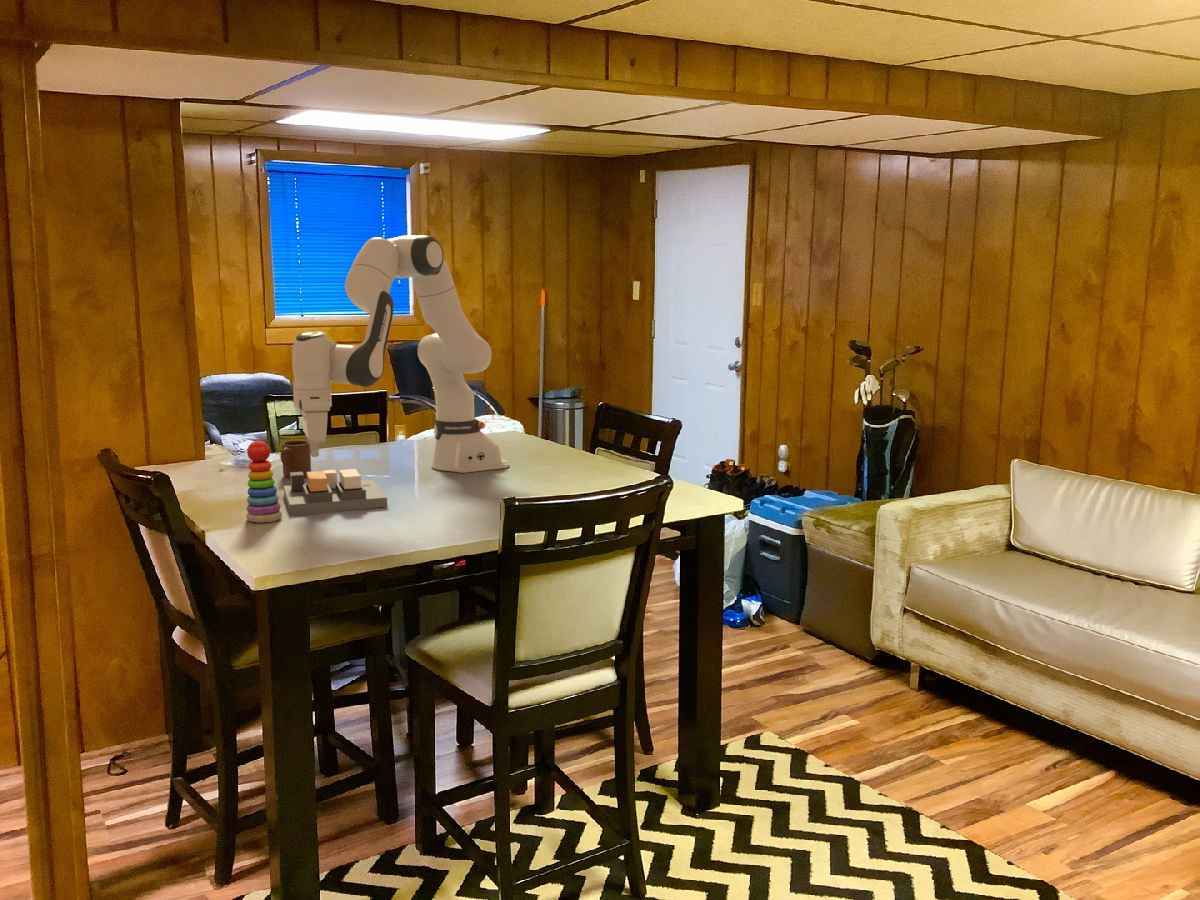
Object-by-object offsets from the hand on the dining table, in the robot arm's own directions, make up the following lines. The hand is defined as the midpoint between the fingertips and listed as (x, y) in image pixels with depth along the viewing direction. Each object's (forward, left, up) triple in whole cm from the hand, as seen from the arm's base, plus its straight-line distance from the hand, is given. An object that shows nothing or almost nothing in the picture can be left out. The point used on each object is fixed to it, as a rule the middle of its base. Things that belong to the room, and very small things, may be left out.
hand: (314, 455), depth 247 cm
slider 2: (-4, -9, -10) cm, 14 cm away
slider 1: (+4, -9, -10) cm, 14 cm away
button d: (-8, 0, -8) cm, 11 cm away
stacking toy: (+13, +8, -13) cm, 20 cm away
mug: (+3, -37, -13) cm, 39 cm away
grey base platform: (-5, -5, -13) cm, 15 cm away
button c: (0, 0, -8) cm, 8 cm away
